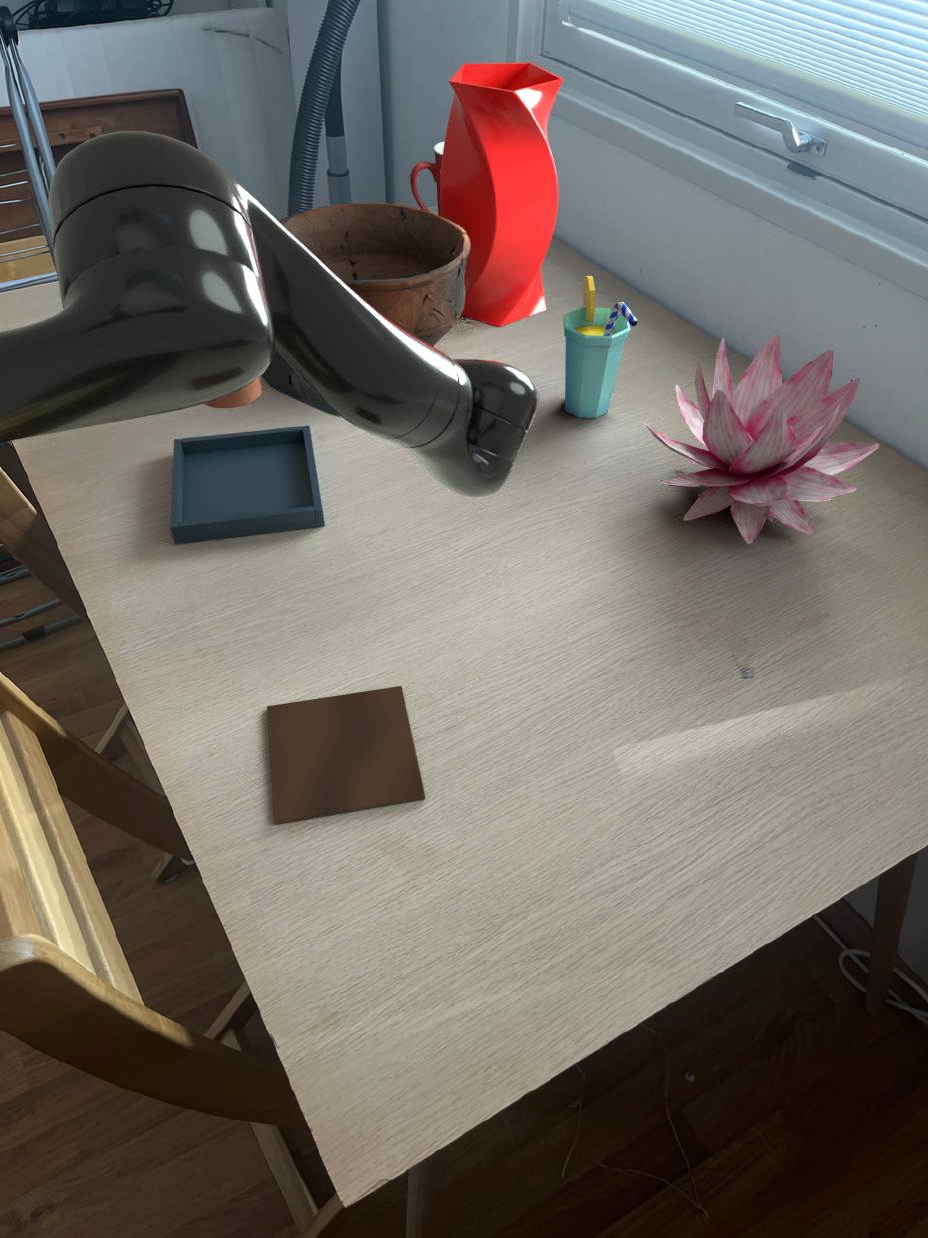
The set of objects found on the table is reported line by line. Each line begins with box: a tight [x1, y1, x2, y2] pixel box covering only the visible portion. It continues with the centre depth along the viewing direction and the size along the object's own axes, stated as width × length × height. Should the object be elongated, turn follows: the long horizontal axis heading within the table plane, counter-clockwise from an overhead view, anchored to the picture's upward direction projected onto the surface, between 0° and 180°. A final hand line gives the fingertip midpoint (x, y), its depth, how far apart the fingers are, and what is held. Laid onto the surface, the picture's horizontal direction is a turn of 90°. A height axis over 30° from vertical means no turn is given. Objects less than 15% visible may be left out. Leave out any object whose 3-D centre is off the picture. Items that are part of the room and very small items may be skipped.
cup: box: [562, 275, 639, 419], centre depth 98 cm, size 14×8×15 cm, turn 20°
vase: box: [440, 62, 564, 328], centre depth 114 cm, size 15×14×28 cm
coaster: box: [266, 685, 426, 825], centre depth 68 cm, size 11×11×1 cm
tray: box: [169, 424, 326, 545], centre depth 91 cm, size 15×16×2 cm
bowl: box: [278, 202, 470, 347], centre depth 107 cm, size 25×25×15 cm
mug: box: [409, 140, 445, 216], centre depth 135 cm, size 13×9×14 cm
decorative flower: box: [643, 333, 880, 544], centre depth 86 cm, size 21×21×15 cm
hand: (198, 311), depth 83 cm, fingers closed on tumbler, 6 cm apart
